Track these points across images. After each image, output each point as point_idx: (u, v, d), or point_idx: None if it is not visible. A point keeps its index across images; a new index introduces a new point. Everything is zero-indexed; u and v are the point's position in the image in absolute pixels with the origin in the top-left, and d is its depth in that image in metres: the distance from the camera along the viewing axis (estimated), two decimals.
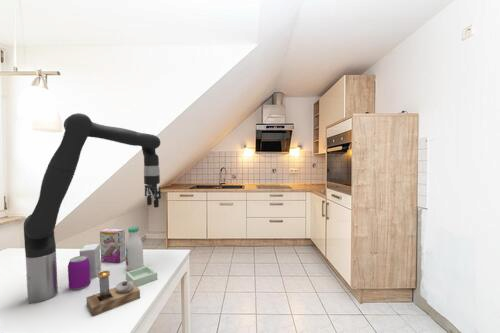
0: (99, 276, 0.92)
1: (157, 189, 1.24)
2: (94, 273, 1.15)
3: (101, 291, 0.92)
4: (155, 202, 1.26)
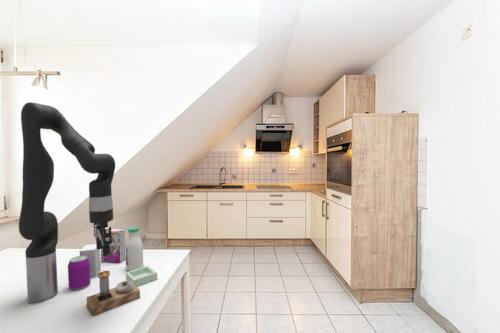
0: (99, 276, 0.92)
1: (106, 231, 0.88)
2: (94, 273, 1.15)
3: (101, 291, 0.92)
4: (104, 249, 0.89)
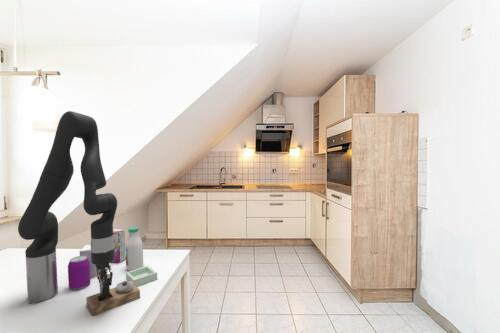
0: (99, 276, 0.92)
1: (107, 277, 0.89)
2: (94, 273, 1.15)
3: (101, 291, 0.92)
4: (104, 290, 0.91)
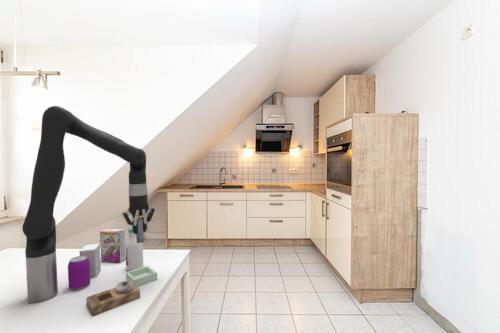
0: None
1: (123, 215, 1.07)
2: (94, 273, 1.15)
3: None
4: None
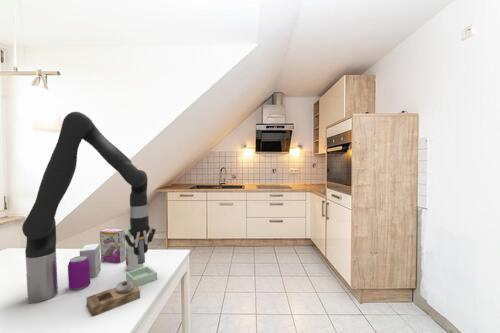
0: None
1: (124, 237, 1.08)
2: (94, 273, 1.15)
3: None
4: None
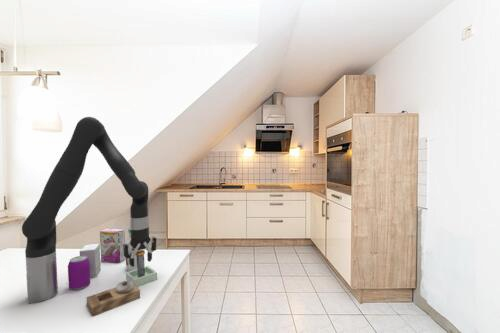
0: None
1: (123, 247, 1.08)
2: (94, 273, 1.15)
3: None
4: None
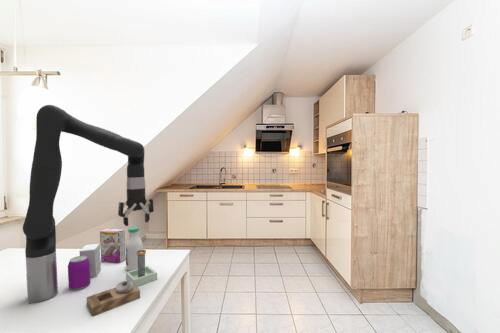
0: None
1: (119, 205, 1.07)
2: (94, 273, 1.15)
3: None
4: None
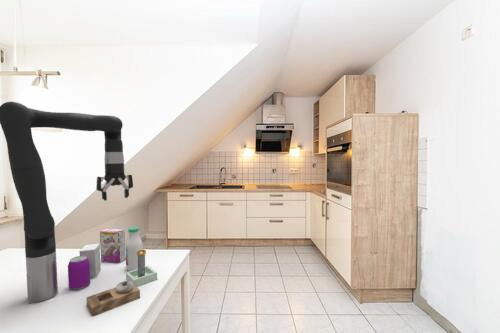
0: None
1: (97, 179, 1.07)
2: (94, 273, 1.15)
3: None
4: (102, 194, 1.09)
